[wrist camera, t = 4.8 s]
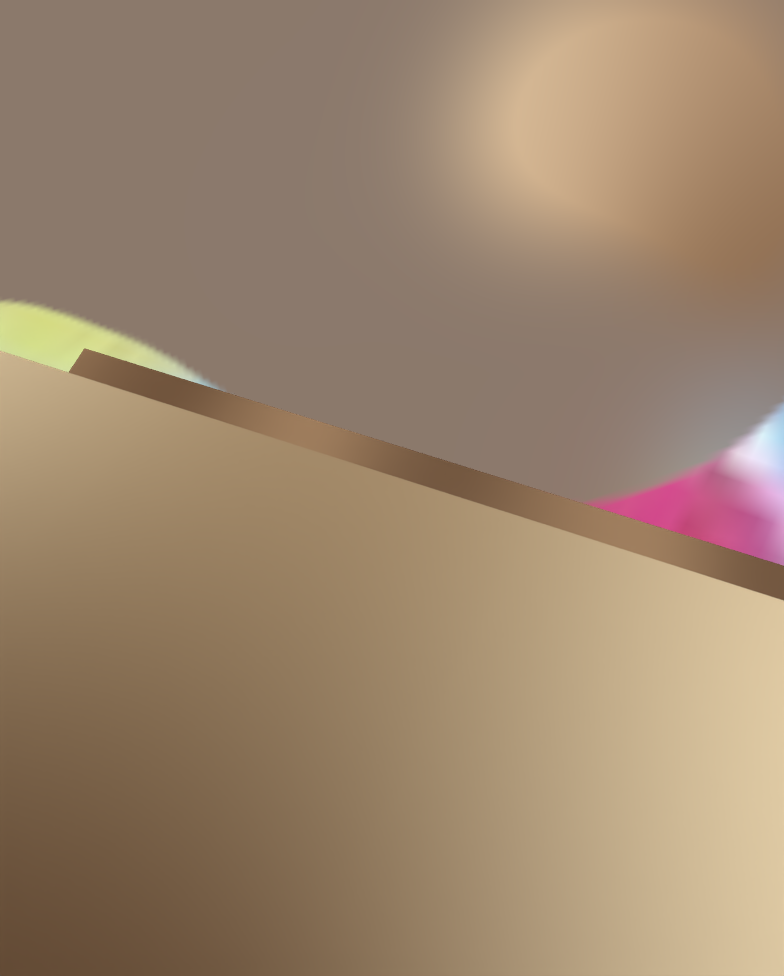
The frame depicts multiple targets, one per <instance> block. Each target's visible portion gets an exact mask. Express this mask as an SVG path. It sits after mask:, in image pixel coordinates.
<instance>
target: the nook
mask: <svg viewBox="0 0 784 976" xmlns="http://www.w3.org/2000/svg"><path fill="white" fill-rule="evenodd" d="M69 373H71V374H74V375H78V376H81V377H84V378H87V379H90V380H93V381H96V382H100V383H103V384H106V385H109V386H112V387H115V388H118V389H122V390H125V391H128V392H131V393H134V394H137V395H140V396H143V397H147V398H150V399H153V400H156V401H159V402H162V403H165V404H169V405H172V406H175V407H178V408H181V409H184V410H187V411H191V412H194V413H197V414H200V415H203V416H206V417H209V418H213V419H216V420H219V421H222V422H225V423H228V424H231V425H234V426H238V427H241V428H244V429H247V430H250V431H253V432H256V433H260V434H263V435H266V436H269V437H272V438H275V439H278V440H282V441H285V442H288V443H291V444H294V445H297V446H300V447H303V448H307V449H310V450H313V451H316V452H319V453H322V454H325V455H329V456H332V457H335V458H338V459H341V460H344V461H347V462H351V463H354V464H357V465H360V466H363V467H366V468H369V469H373V470H376V471H379V472H382V473H385V474H388V475H391V476H394V477H398V478H401V479H404V480H407V481H410V482H413V483H416V484H420V485H423V486H426V487H429V488H432V489H435V490H438V491H442V492H445V493H448V494H451V495H454V496H457V497H460V498H464V499H467V500H470V501H473V502H476V503H479V504H482V505H485V506H489V507H492V508H495V509H498V510H501V511H504V512H507V513H511V514H514V515H517V516H520V517H523V518H526V519H529V520H533V521H536V522H539V523H542V524H545V525H548V526H551V527H554V528H558V529H561V530H564V531H567V532H570V533H573V534H576V535H580V536H583V537H586V538H589V539H592V540H595V541H598V542H602V543H605V544H608V545H611V546H614V547H617V548H620V549H624V550H627V551H630V552H633V553H636V554H639V555H642V556H645V557H649V558H652V559H655V560H658V561H661V562H664V563H667V564H671V565H674V566H677V567H680V568H683V569H686V570H689V571H693V572H696V573H699V574H702V575H705V576H708V577H711V578H715V579H718V580H721V581H724V582H727V583H730V584H733V585H736V586H740V587H743V588H746V589H749V590H752V591H755V592H758V593H762V594H765V595H768V596H771V597H774V598H777V599H780V600H784V566H783V565H780V564H776V563H773V562H770V561H767V560H763V559H760V558H757V557H754V556H751V555H747V554H744V553H741V552H738V551H735V550H731V549H728V548H725V547H722V546H718V545H715V544H712V543H709V542H706V541H702V540H699V539H696V538H693V537H689V536H686V535H683V534H680V533H677V532H673V531H670V530H667V529H664V528H661V527H657V526H654V525H651V524H648V523H644V522H641V521H638V520H635V519H632V518H628V517H625V516H622V515H619V514H616V513H612V512H609V511H606V510H603V509H599V508H596V507H593V506H590V505H587V504H583V503H580V502H577V501H574V500H570V499H567V498H564V497H561V496H557V495H554V494H551V493H548V492H545V491H541V490H538V489H535V488H532V487H529V486H525V485H522V484H519V483H516V482H513V481H509V480H506V479H503V478H500V477H496V476H493V475H490V474H487V473H483V472H480V471H477V470H474V469H471V468H467V467H464V466H461V465H458V464H454V463H451V462H448V461H445V460H442V459H439V458H435V457H432V456H429V455H426V454H423V453H419V452H416V451H413V450H410V449H407V448H403V447H400V446H397V445H393V444H390V443H387V442H384V441H381V440H378V439H374V438H371V437H368V436H365V435H361V434H358V433H355V432H352V431H348V430H345V429H342V428H339V427H336V426H333V425H329V424H326V423H323V422H319V421H316V420H313V419H310V418H307V417H303V416H300V415H297V414H294V413H291V412H288V411H284V410H281V409H278V408H275V407H271V406H268V405H265V404H262V403H259V402H255V401H252V400H249V399H245V398H243V397H239V396H236V395H233V394H230V393H226V392H223V391H220V390H217V389H214V388H210V387H207V386H204V385H201V384H197V383H194V382H191V381H188V380H185V379H181V378H178V377H175V376H172V375H169V374H165V373H162V372H159V371H156V370H152V369H149V368H146V367H143V366H140V365H136V364H133V363H130V362H127V361H124V360H120V359H117V358H114V357H111V356H107V355H104V354H101V353H98V352H95V351H91V350H88V349H84V350H83V352H82V353H81V355H80V356H79V358H78V359H77V361H76V362H75V364H74V365H73V367H72V368H71V370H70V371H69Z"/></svg>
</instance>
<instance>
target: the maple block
mask: <svg viewBox="0 0 784 976" xmlns="http://www.w3.org/2000/svg"><path fill="white" fill-rule="evenodd" d="M0 976H784V600H780V599H777V598H774V597H771V596H768V595H765V594H762V593H758V592H755V591H752V590H749V589H746V588H743V587H740V586H736V585H733V584H730V583H727V582H724V581H721V580H718V579H715V578H711V577H708V576H705V575H702V574H699V573H696V572H693V571H689V570H686V569H683V568H680V567H677V566H674V565H671V564H667V563H664V562H661V561H658V560H655V559H652V558H649V557H645V556H642V555H639V554H636V553H633V552H630V551H627V550H624V549H620V548H617V547H614V546H611V545H608V544H605V543H602V542H598V541H595V540H592V539H589V538H586V537H583V536H580V535H576V534H573V533H570V532H567V531H564V530H561V529H558V528H554V527H551V526H548V525H545V524H542V523H539V522H536V521H533V520H529V519H526V518H523V517H520V516H517V515H514V514H511V513H507V512H504V511H501V510H498V509H495V508H492V507H489V506H485V505H482V504H479V503H476V502H473V501H470V500H467V499H464V498H460V497H457V496H454V495H451V494H448V493H445V492H442V491H438V490H435V489H432V488H429V487H426V486H423V485H420V484H416V483H413V482H410V481H407V480H404V479H401V478H398V477H394V476H391V475H388V474H385V473H382V472H379V471H376V470H373V469H369V468H366V467H363V466H360V465H357V464H354V463H351V462H347V461H344V460H341V459H338V458H335V457H332V456H329V455H325V454H322V453H319V452H316V451H313V450H310V449H307V448H303V447H300V446H297V445H294V444H291V443H288V442H285V441H282V440H278V439H275V438H272V437H269V436H266V435H263V434H260V433H256V432H253V431H250V430H247V429H244V428H241V427H238V426H234V425H231V424H228V423H225V422H222V421H219V420H216V419H213V418H209V417H206V416H203V415H200V414H197V413H194V412H191V411H187V410H184V409H181V408H178V407H175V406H172V405H169V404H165V403H162V402H159V401H156V400H153V399H150V398H147V397H143V396H140V395H137V394H134V393H131V392H128V391H125V390H122V389H118V388H115V387H112V386H109V385H106V384H103V383H100V382H96V381H93V380H90V379H87V378H84V377H81V376H78V375H74V374H71V373H68V372H65V371H62V370H59V369H56V368H52V367H49V366H46V365H43V364H40V363H37V362H34V361H31V360H27V359H24V358H21V357H18V356H15V355H12V354H9V353H5V352H2V351H0Z"/></svg>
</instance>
